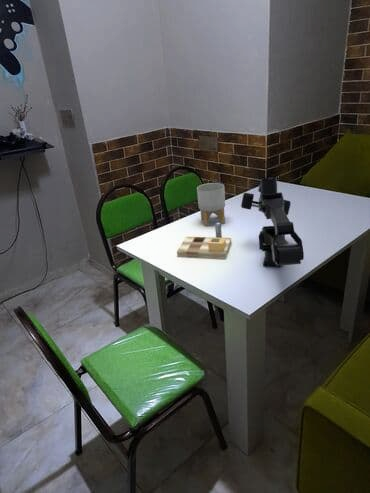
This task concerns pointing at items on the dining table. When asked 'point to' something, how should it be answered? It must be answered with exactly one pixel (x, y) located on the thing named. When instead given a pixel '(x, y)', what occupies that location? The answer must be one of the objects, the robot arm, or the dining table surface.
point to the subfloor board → (201, 248)
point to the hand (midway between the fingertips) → (262, 203)
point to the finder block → (217, 244)
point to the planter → (211, 201)
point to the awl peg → (218, 229)
